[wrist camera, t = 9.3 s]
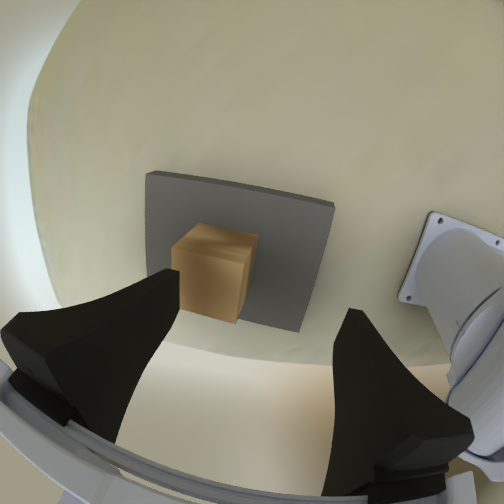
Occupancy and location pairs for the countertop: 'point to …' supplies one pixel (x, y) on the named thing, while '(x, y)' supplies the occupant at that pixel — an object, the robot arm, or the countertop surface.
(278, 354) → the countertop surface
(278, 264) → the charcoal mat
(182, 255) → the oak cube
